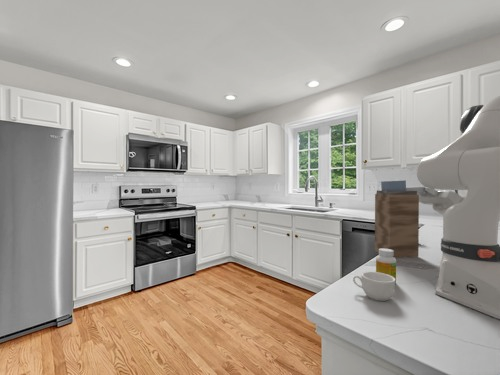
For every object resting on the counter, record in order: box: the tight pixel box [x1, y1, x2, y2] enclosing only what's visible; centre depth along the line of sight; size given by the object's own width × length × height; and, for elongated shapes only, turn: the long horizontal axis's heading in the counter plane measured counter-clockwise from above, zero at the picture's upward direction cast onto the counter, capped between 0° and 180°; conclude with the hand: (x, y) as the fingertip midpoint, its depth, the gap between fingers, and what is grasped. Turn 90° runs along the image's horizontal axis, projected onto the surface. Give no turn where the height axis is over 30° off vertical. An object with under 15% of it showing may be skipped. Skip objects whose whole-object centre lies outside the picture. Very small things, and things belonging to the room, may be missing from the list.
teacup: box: [352, 271, 396, 302], centre depth 65 cm, size 10×8×5 cm
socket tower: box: [374, 190, 420, 258], centre depth 108 cm, size 10×14×28 cm
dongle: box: [380, 179, 436, 193], centre depth 109 cm, size 5×22×6 cm, turn 97°
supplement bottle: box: [375, 248, 397, 285], centre depth 75 cm, size 5×5×10 cm
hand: (420, 188), depth 109 cm, fingers closed on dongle, 4 cm apart
